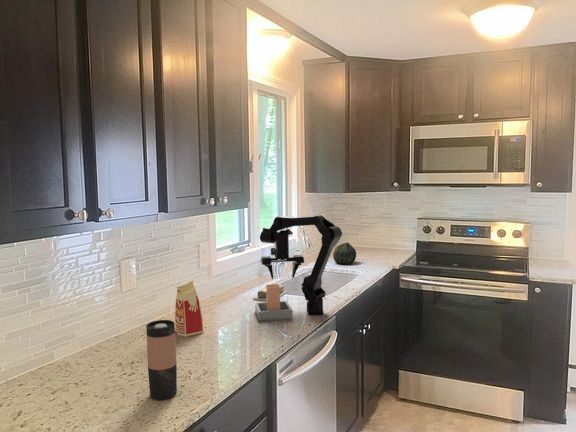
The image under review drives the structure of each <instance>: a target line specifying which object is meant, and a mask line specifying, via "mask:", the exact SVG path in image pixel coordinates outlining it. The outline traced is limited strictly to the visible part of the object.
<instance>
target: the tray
mask: <svg viewBox="0 0 576 432" xmlns="http://www.w3.org/2000/svg"><path fill="white" fill-rule="evenodd" d="M254 310H255V316H256V318H257V320H258V322H259V323H262V322H263V323H264V322H274V321H275V322H277V321H289V320H294V319H293V317H294V316H293V315H294V314H293V309H292V307H291V306H290V303H289V302H288V301H287V300H280V310H274V311H267V301H261V302H255V303H254Z"/></svg>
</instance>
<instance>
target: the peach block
mask: <svg viewBox="0 0 576 432" xmlns="http://www.w3.org/2000/svg"><path fill="white" fill-rule="evenodd" d="M272 284H273V285H272ZM272 284H266V286H265V288H266V294H267V301H266V302H267V311H274V310H280V301H281V297H280V287H279V285H280V284H279V285H278V283H277V284H276V283H272Z"/></svg>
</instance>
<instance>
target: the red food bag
mask: <svg viewBox="0 0 576 432" xmlns="http://www.w3.org/2000/svg"><path fill="white" fill-rule="evenodd" d="M176 289H177V291H176V299H175V311H174V312H175V313H174V324H175V333H177V335H178V336H181V337H189V336H194V335H198V334H203V333H204V331H205V330H204V321H203V320H204V319H203V314H202V309H201V308H202V307H201V303H200V300H199V296H198V293H197V290H196V288H195V285H194V280H193V279H191V280H190V281H188V282H186V283H183V284H182V285H178V286H176Z"/></svg>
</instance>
